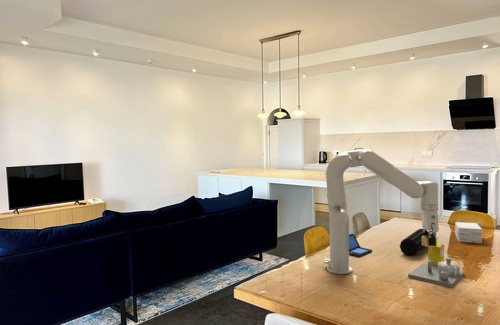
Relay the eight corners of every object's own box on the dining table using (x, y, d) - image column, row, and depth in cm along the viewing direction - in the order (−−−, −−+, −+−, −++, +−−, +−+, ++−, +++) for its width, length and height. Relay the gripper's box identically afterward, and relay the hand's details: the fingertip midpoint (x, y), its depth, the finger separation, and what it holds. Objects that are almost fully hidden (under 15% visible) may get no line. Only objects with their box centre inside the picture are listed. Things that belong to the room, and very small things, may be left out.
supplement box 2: (454, 235, 250) (454, 221, 249) (477, 236, 245) (477, 223, 244) (458, 241, 234) (458, 227, 233) (482, 243, 229) (482, 228, 228)
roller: (416, 237, 240) (421, 223, 238) (431, 244, 234) (436, 230, 232) (397, 251, 211) (402, 236, 208) (414, 259, 205) (420, 244, 203)
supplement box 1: (432, 262, 196) (432, 242, 195) (444, 265, 191) (444, 244, 191) (427, 265, 191) (428, 244, 191) (440, 268, 187) (440, 247, 186)
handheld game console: (359, 258, 206) (358, 241, 206) (338, 253, 216) (338, 237, 216) (373, 252, 217) (373, 236, 216) (353, 247, 227) (353, 232, 226)
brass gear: (424, 247, 175) (424, 238, 175) (419, 243, 181) (419, 235, 181) (439, 247, 174) (439, 239, 173) (434, 243, 180) (434, 235, 180)
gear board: (408, 277, 176) (408, 260, 175) (423, 266, 190) (423, 250, 190) (451, 287, 163) (451, 269, 162) (464, 275, 177) (464, 258, 176)
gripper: (444, 210, 167) (444, 248, 168) (431, 203, 185) (431, 238, 186) (426, 210, 169) (427, 248, 170) (415, 203, 186) (415, 238, 187)
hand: (429, 243), depth 178 cm, fingers closed on brass gear, 6 cm apart
